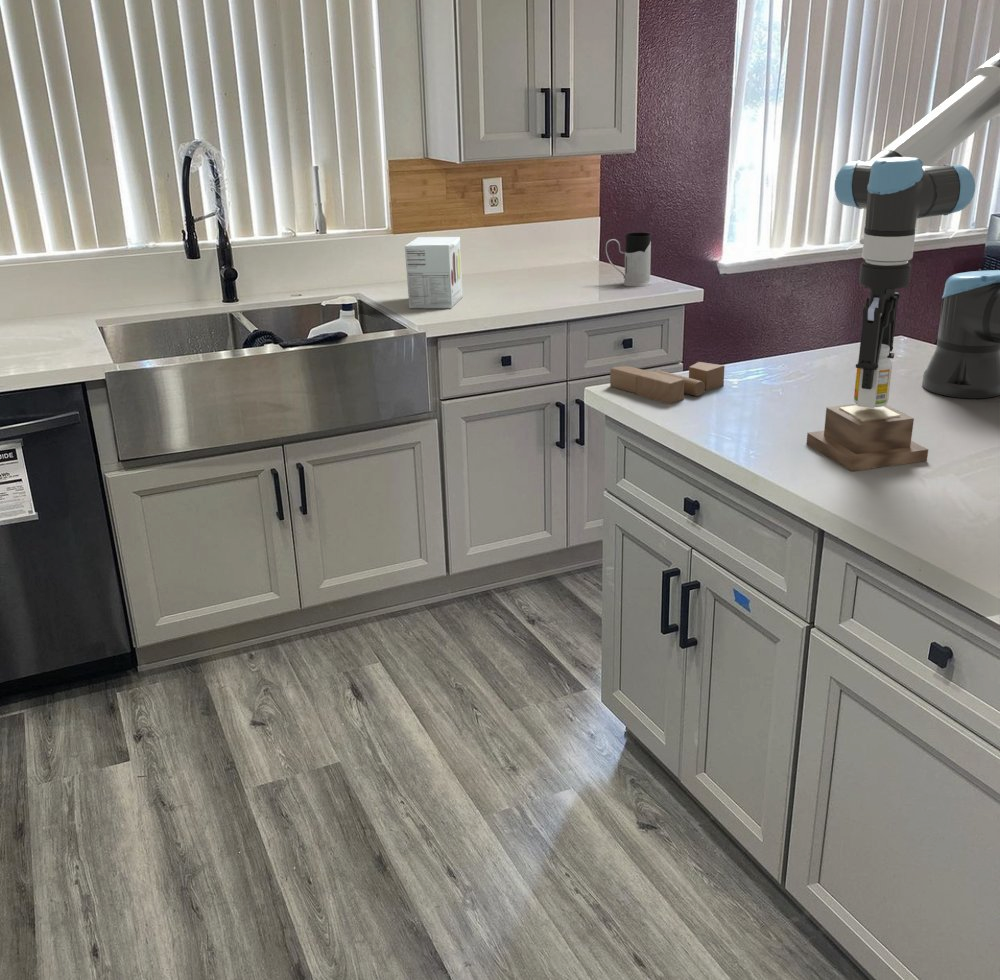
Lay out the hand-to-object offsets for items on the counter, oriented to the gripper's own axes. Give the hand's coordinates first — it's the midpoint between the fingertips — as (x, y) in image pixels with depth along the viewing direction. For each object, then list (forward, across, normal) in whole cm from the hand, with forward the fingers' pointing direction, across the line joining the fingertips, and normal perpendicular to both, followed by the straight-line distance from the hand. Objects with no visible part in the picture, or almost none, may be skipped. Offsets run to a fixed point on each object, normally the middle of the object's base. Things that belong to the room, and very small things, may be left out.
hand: (870, 401), depth 166 cm
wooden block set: (+10, -20, -46) cm, 51 cm away
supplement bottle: (+1, 0, 0) cm, 1 cm away
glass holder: (+9, -115, -101) cm, 153 cm away
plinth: (+9, 0, 0) cm, 9 cm away
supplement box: (+9, -69, -141) cm, 157 cm away
